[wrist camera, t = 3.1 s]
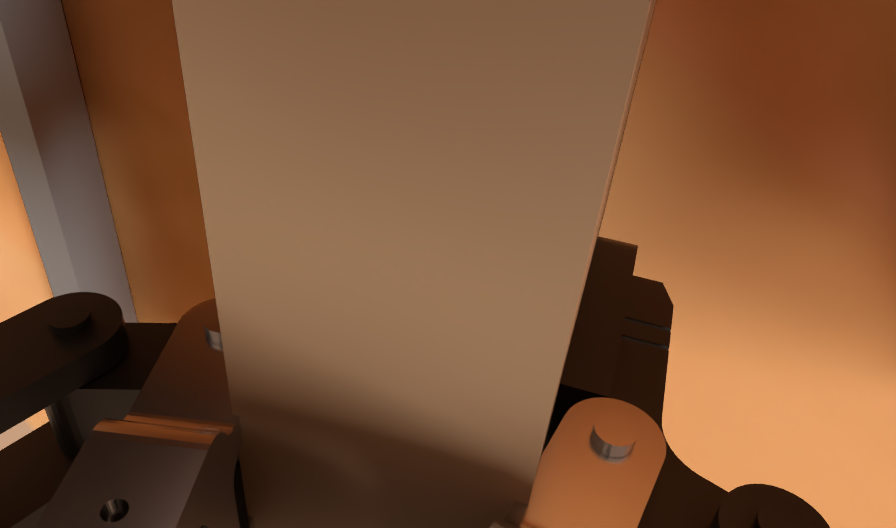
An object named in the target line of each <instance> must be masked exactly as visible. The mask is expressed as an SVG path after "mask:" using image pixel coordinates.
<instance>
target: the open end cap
mask: <svg viewBox="0 0 896 528" xmlns="http://www.w3.org/2000/svg"><path fill="white" fill-rule="evenodd" d="M0 131H1V134H2V137H3V140H4V144H5V147H6V150H7V153H8V156H9V159H10V162H11V165H12V168H13V171H14V175H15V178H16V181H17V184H18V187H19V190H20V193H21V196H22V199H23V202H24V206H25V209H26V212H27V215H28V218H29V221H30V224H31V227H32V230H33V233H34V237H35V240H36V243H37V246H38V249H39V252H40V255H41V258H42V261H43V264H44V268H45V271H46V274H47V277H48V280H49V283H50V286H51V289H52V292H53V295H54V297H57V296H60V295H63V294H68V293H74V292H94V293H99V294H103V295H106V296H108V297H110V298H112V299H114V300H115V301H116V302H117V303H118V304H119V306H120V307H121V309H122V313H123V317H124V321H125V323H138V322H137V317H136V313H135V309H134V305H133V301H132V296H131V292H130V288H129V284H128V280H127V276H126V271H125V267H124V263H123V259H122V255H121V250H120V246H119V242H118V238H117V234H116V230H115V225H114V221H113V217H112V213H111V209H110V205H109V200H108V196H107V192H106V188H105V184H104V179H103V175H102V171H101V167H100V163H99V159H98V154H97V150H96V146H95V142H94V138H93V134H92V129H91V125H90V121H89V117H88V113H87V108H86V104H85V100H84V96H83V92H82V88H81V83H80V79H79V75H78V71H77V67H76V62H75V58H74V54H73V50H72V46H71V42H70V37H69V33H68V29H67V25H66V21H65V17H64V12H63V8H62V4H61V0H0Z"/></svg>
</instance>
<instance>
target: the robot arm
mask: <svg viewBox="0 0 896 528" xmlns="http://www.w3.org/2000/svg"><path fill="white" fill-rule="evenodd" d="M637 248H638V246H637V245H633V244H629V243H624V242H620V241H616V240H612V239H607V238H603V237H599V236H598V237H597V240H596V244H595V248H594V252H593V256H592V260H591V264H590V268H589V272H588V276H587V279H586V283H585V287H584V291H583V295H582V299H581V303H580V307H579V311H578V314H577V318H576V322H575V326H574V330H573V334H572V338H571V342H570V346H569V349H568V353H567V357H566V361H565V365H564V369H563V373H562V377H561V381H560V385H559V389H558V393H557V397H556V401H555V405H554V409H553V413H552V417H551V421H550V426H549V430H548V434H547V438H546V442H545V446H544V450H543V454H542V455H541V458H540V462H539V466H538V470H537V474H536V477H535V481H534V485H533V489H532V493H531V497H530V501H529V505H528V504H525V503H521V502H518V501H515V502H514V504H513V506H512V508H511V509H510V511H509V513H508V514H507V516H506V517H505V518H504V519H501V518H497V519H496V520H495V521H494V522H493V523H492V525H491V526H490V527H489V528H830V527H829V525H828V524H827V522H826V521H825V520H824V518H823V517H822V516H821V515H820V514H819V513H818V512H817V511H816V510H815V509H814V508H813V507H812V506H811V505H809V504H808V503H807V502H805V501H804V500H803V499H801V498H799V497H798V496H796V495H794V494H793V493H790V492H788V491H786V490H784V489H781V488H778V487H775V486H771V485H765V484H748V485H743V486H740V487H737V488H735V489H733V490H732V491H730V492H727V491H725V490H724V489H722V488H720V487H719V486H717V485H715V484H713V483H712V482H710V481H708V480H706V479H705V478H703V477H701V476H700V475H698V474H697V473H695V472H693V471H692V470H691V469H690V468H688V467H687V466H686V465H685V464H684V463H683V462H682V461H681V460H680V459H679V458H678V457H677V456H676V455H675V454H674V452H673V451H672V450H671V448H670V446H669V445H668V443H667V441H666V439H665V436H664V434H663V429H662V411H663V401H664V392H665V382H666V372H667V363H668V353H669V351H668V349H669V344H670V334H671V333H670V330H671V324H672V315H673V304H672V301H671V299H670V297H669V295H668V293H667V291H666V289H665V287H664V285H663V283H662V282H658V281H654V280H649V279H645V278H641V277H637V276H633V270H634V265H635V259H636V254H637ZM44 408H45V411H46V414H47V416H48V419H49V422H47V423H46V424H44V425H42V426H41V427H39V428H37V429H36V430H34V431H32V432H31V433H29V434H28V435H26V436H24V437H23V438H21V439H19V440H17V441H16V442H14V443H12V444H11V445H9V446H7V447H6V448H4V449H2V450H1V451H0V528H255V525H254V518H253V517H250V516H248V515H247V508H246V501H245V494H244V487H243V481H242V474H241V467H240V460H239V451H240V449H241V446H242V443H243V439H242V432H241V425H240V418H239V416H236V415H233V413H232V406H231V399H230V393H229V386H228V379H227V372H226V365H225V359H224V352H223V345H222V338H221V332H220V325H219V318H218V311H217V305H216V298H215V299H211V300H207V301H205V302H202V303H200V304H198V305H196V306H194V307H193V308H191V309H190V310H189V311H187V312H186V313H185V314H184V315H183V316H182V317H181V319H180V320H179V322H178V323H125V321H124V317H123V313H122V309H121V307H120V306H119V304H118V303H117V302H116V301H115V300H114V299H112V298H110V297H108V296H106V295H103V294H99V293H94V292H74V293H68V294H63V295H60V296H57V297H53V298H51V299H49V300H46V301H44V302H42V303H40V304H38V305H36V306H34V307H32V308H30V309H28V310H26V311H24V312H22V313H20V314H18V315H16V316H14V317H11V318H9V319H7V320H5V321H3V322H1V323H0V434H1V433H3V432H5V431H6V430H8V429H10V428H11V427H13V426H15V425H17V424H18V423H20V422H22V421H24V420H25V419H27V418H29V417H30V416H32V415H34V414H36V413H37V412H39V411H41V410H42V409H44Z"/></svg>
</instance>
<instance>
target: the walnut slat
mask: <svg viewBox="0 0 896 528" xmlns="http://www.w3.org/2000/svg"><path fill="white" fill-rule="evenodd" d="M655 3H656V0H172V6H173V13H174V20H175V27H176V33H177V40H178V47H179V54H180V61H181V67H182V74H183V81H184V88H185V94H186V101H187V108H188V115H189V122H190V128H191V135H192V142H193V149H194V155H195V162H196V169H197V176H198V183H199V189H200V196H201V203H202V210H203V216H204V223H205V230H206V237H207V244H208V250H209V257H210V264H211V271H212V277H213V284H214V291H215V298H216V305H217V311H218V318H219V325H220V332H221V338H222V345H223V352H224V359H225V365H226V372H227V379H228V386H229V393H230V399H231V406H232V413H233V415H236V416H239V418H240V425H241V432H242V439H243V443H242V446H241V449H240V451H239V460H240V467H241V474H242V481H243V487H244V494H245V501H246V508H247V515H248V516H250V517H253V518H254V525H255V528H489V527H490V526H491V525H492V523H493V522H494V521H495V520H496V519H497V518H501V519H504V518H505V517H506V516H507V514H508V513H509V511H510V509H511V508H512V506H513V504H514V502H515V501H518V502H521V503H525V504H528V505H529V501H530V497H531V493H532V489H533V485H534V481H535V477H536V474H537V470H538V466H539V462H540V458H541V455H542V454H543V450H544V446H545V442H546V438H547V434H548V430H549V426H550V421H551V417H552V413H553V409H554V405H555V401H556V397H557V393H558V389H559V385H560V381H561V377H562V373H563V369H564V365H565V361H566V357H567V353H568V349H569V346H570V342H571V338H572V334H573V330H574V326H575V322H576V318H577V314H578V311H579V307H580V303H581V299H582V295H583V291H584V287H585V283H586V279H587V276H588V272H589V268H590V264H591V260H592V256H593V252H594V248H595V244H596V240H597V237H598V235H599V231H600V227H601V223H602V219H603V215H604V211H605V206H606V202H607V198H608V194H609V190H610V186H611V182H612V178H613V174H614V170H615V166H616V162H617V158H618V154H619V150H620V146H621V142H622V137H623V133H624V129H625V125H626V121H627V117H628V113H629V109H630V105H631V101H632V97H633V93H634V89H635V85H636V81H637V77H638V72H639V68H640V64H641V60H642V56H643V52H644V48H645V44H646V40H647V36H648V32H649V28H650V24H651V20H652V16H653V12H654V8H655Z"/></svg>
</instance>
